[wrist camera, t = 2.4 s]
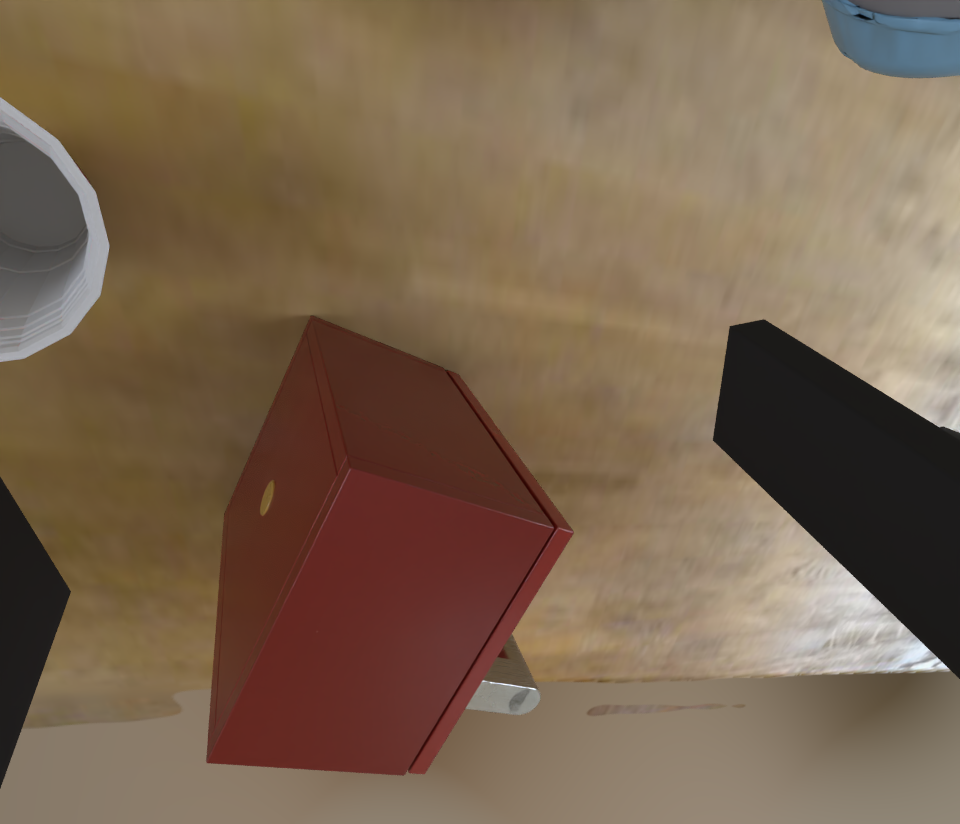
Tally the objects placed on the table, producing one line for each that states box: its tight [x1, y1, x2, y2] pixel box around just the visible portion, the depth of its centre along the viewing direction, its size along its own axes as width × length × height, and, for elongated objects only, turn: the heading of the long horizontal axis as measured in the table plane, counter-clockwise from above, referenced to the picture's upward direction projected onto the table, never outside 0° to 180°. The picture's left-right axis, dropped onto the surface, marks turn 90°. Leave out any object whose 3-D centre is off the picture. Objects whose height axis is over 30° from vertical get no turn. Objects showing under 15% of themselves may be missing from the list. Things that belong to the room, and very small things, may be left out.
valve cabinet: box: [206, 316, 554, 775], centre depth 37 cm, size 10×16×20 cm, turn 152°
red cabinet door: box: [408, 370, 574, 774], centre depth 41 cm, size 8×16×20 cm, turn 152°
